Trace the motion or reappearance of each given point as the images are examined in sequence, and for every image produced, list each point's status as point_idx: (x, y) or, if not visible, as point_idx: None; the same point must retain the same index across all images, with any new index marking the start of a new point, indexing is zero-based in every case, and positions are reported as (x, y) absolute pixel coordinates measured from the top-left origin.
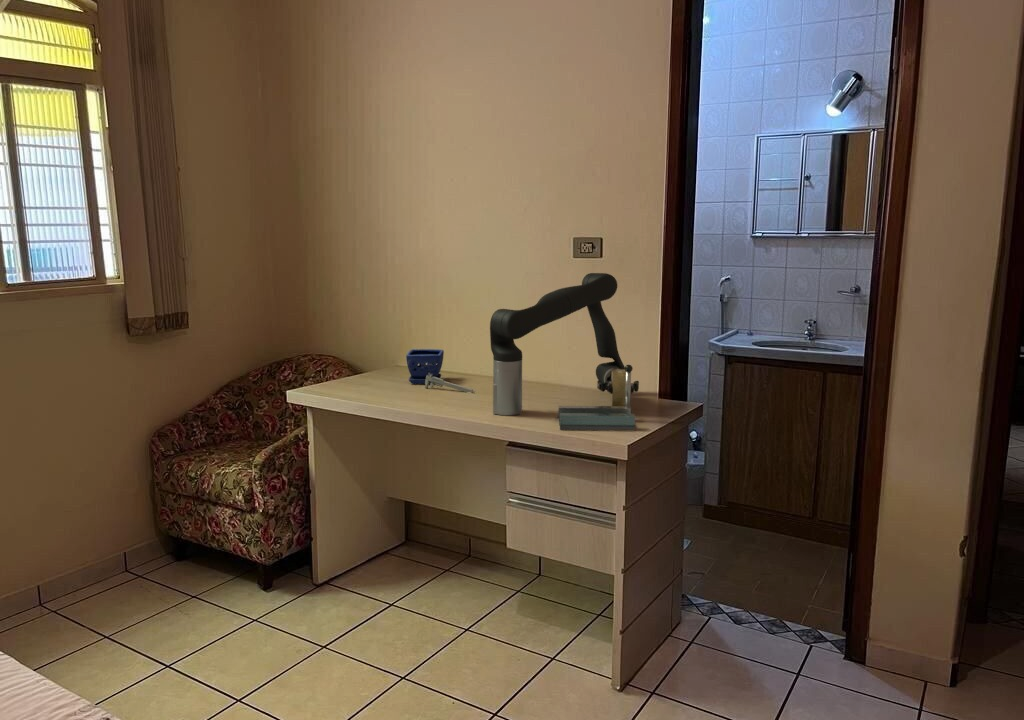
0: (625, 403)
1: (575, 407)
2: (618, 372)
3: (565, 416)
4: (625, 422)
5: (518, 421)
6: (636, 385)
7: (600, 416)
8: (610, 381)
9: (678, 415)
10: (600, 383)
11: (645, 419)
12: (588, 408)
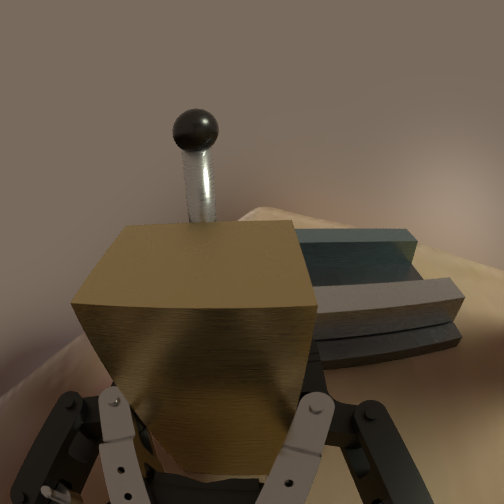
0: None
1: (411, 286)
2: (236, 228)
3: (394, 230)
4: None
5: (499, 295)
6: (78, 397)
7: (312, 230)
8: (306, 457)
9: (24, 385)
10: (398, 436)
11: None
12: (368, 284)
